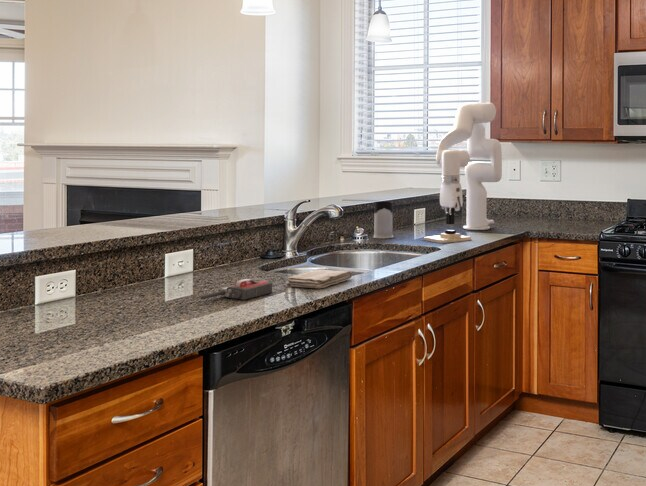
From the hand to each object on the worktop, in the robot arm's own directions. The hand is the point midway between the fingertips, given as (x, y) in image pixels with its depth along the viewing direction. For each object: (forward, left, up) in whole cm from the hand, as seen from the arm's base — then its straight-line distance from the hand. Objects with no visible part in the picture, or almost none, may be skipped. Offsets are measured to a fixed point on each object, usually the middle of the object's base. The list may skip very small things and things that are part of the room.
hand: (450, 223), depth 309 cm
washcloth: (+88, +46, -7) cm, 100 cm away
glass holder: (+14, -29, -7) cm, 33 cm away
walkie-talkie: (+115, +50, -7) cm, 125 cm away
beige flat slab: (0, -2, -7) cm, 7 cm away
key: (0, 0, -4) cm, 4 cm away
